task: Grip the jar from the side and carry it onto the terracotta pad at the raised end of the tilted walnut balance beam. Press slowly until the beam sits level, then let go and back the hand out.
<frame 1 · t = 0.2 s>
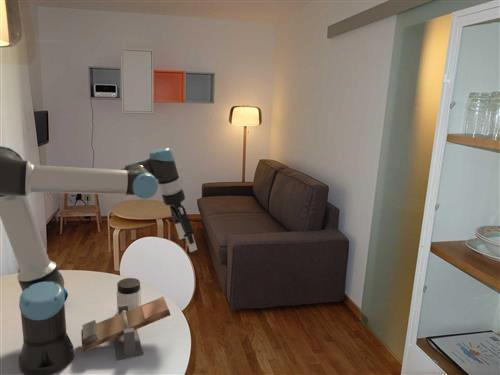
hand: (188, 244, 150), 27 cm above the table, tool tilted 15°, fingers open, 13 cm apart
ornament: (56, 306, 154), on the table
pivot stand: (126, 340, 136), on the table
jar: (129, 312, 153), on the table
beam: (126, 322, 134), point 7 cm above the table, hinge at -15.0°
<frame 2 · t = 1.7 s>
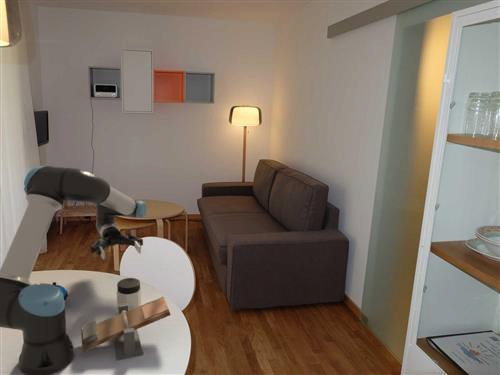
hand: (122, 253, 156), 20 cm above the table, tool horizontal, fingers open, 13 cm apart
nothing on the table moved.
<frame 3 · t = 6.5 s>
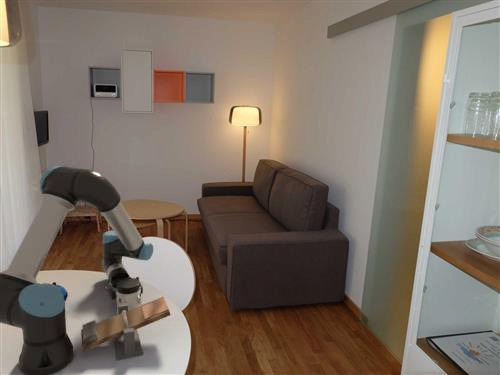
hand: (133, 302, 147), 7 cm above the table, tool horizontal, fingers closed on jar, 4 cm apart
jar: (129, 312, 153), on the table, touching gripper
everything else where it was.
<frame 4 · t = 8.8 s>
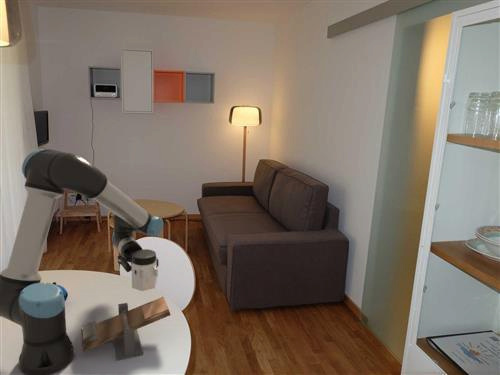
hand: (149, 274, 138), 21 cm above the table, tool horizontal, fingers closed on jar, 4 cm apart
jar: (144, 285, 144), point 14 cm above the table, touching gripper
everything else where it was.
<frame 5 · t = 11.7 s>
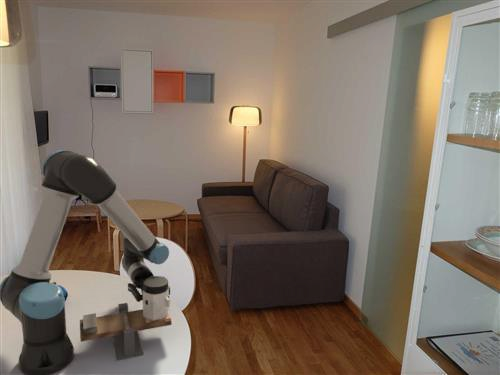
hand: (161, 305, 132), 14 cm above the table, tool horizontal, fingers closed on jar, 4 cm apart
jar: (156, 314, 138), point 8 cm above the table, touching gripper
beam: (126, 322, 134), point 7 cm above the table, hinge at 0.1°
everything else where it was.
when the fingers open (13 cm above the table, at t = 13.5 s): jar stays where it is, resting on beam.
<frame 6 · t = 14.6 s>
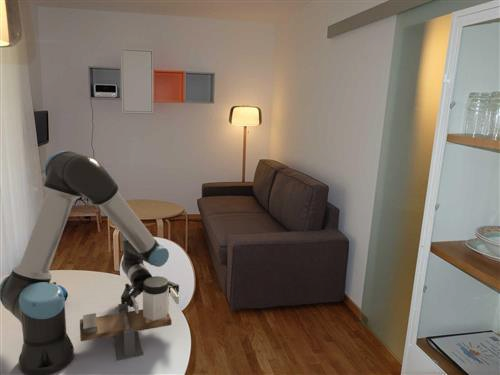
hand: (158, 304, 134), 13 cm above the table, tool horizontal, fingers open, 13 cm apart
jar: (156, 314, 138), point 8 cm above the table, touching beam
beam: (126, 322, 134), point 7 cm above the table, hinge at 0.3°, touching jar
everything else where it was.
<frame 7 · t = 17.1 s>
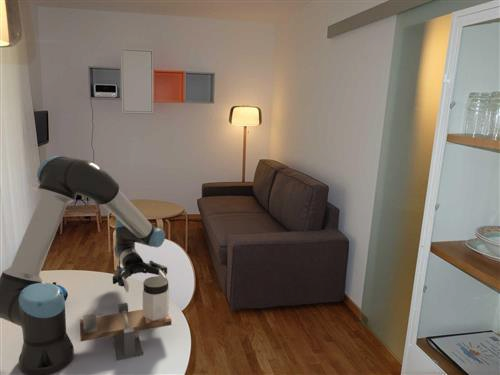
hand: (146, 284, 144), 15 cm above the table, tool horizontal, fingers open, 13 cm apart
nothing on the table moved.
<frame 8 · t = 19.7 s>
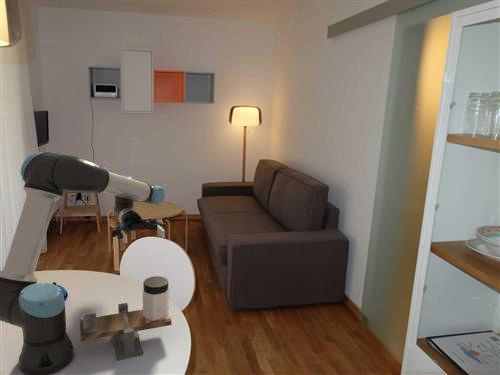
hand: (145, 237, 147), 30 cm above the table, tool horizontal, fingers open, 13 cm apart
nothing on the table moved.
at the end: beam at +0° (first picture: -15°); jar 0.4 cm from the target spot on the beam, point 0.7 cm above the beam's base; the gripper is holding nothing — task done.
